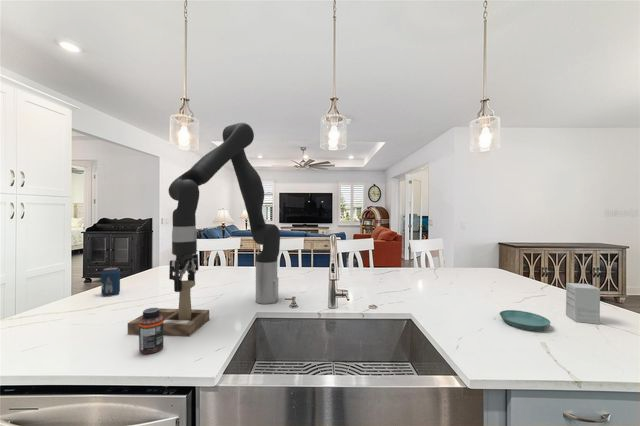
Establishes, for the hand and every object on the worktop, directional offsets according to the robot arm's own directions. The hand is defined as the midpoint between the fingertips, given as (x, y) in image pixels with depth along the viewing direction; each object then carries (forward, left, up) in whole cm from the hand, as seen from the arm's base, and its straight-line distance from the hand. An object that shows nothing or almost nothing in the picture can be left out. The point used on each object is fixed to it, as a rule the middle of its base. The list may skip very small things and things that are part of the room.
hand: (185, 287), depth 99 cm
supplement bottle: (+1, +16, -13) cm, 21 cm away
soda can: (+53, -33, -13) cm, 63 cm away
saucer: (-116, -12, -14) cm, 118 cm away
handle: (0, 0, -13) cm, 13 cm away
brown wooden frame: (+5, 0, -13) cm, 14 cm away
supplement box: (-140, -18, -13) cm, 142 cm away
